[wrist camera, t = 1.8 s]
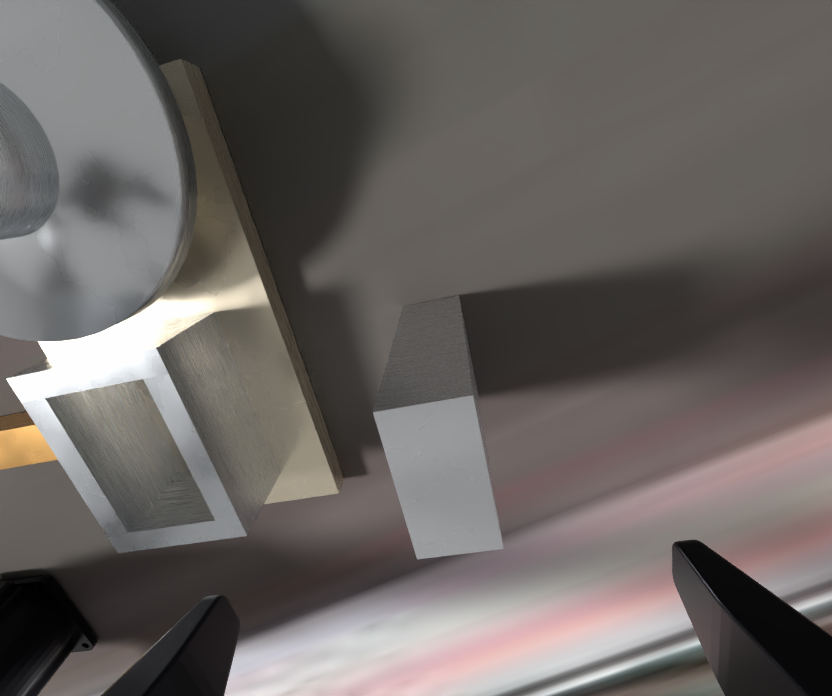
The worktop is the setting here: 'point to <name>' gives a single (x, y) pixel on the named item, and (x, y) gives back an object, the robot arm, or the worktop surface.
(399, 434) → the grey rectangular block
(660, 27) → the worktop surface
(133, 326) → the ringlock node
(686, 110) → the worktop surface
